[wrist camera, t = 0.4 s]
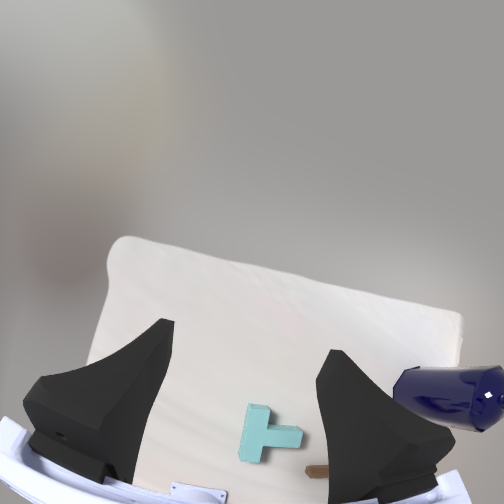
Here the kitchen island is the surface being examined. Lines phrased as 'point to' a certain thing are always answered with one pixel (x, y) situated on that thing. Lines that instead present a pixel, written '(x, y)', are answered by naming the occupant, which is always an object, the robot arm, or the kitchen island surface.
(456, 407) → the bottle
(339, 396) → the robot arm
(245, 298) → the kitchen island surface
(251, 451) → the t block
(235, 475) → the kitchen island surface
